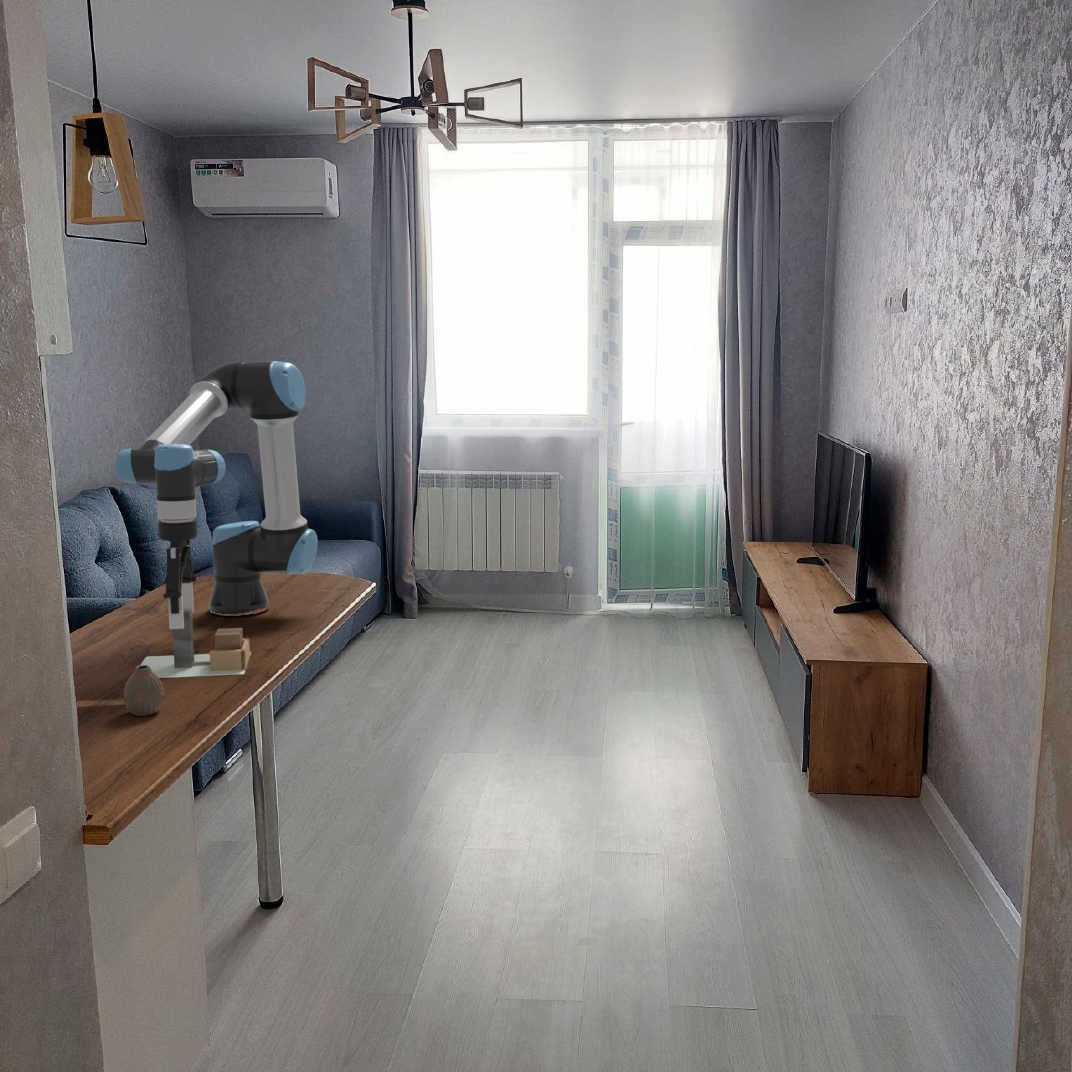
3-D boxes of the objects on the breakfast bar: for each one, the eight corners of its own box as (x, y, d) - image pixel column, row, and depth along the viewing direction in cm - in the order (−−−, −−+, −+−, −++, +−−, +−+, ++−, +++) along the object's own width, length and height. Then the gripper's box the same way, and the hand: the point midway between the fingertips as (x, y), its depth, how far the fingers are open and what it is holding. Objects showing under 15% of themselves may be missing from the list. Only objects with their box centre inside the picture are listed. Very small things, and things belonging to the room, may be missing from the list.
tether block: (177, 662, 213) (175, 607, 211) (243, 659, 215) (241, 605, 213) (173, 669, 208) (170, 613, 206) (241, 666, 210) (238, 610, 208)
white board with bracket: (146, 661, 217) (145, 638, 216) (251, 656, 221) (250, 634, 220) (131, 683, 201) (129, 659, 200) (244, 678, 205) (243, 655, 204)
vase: (131, 706, 188) (129, 661, 187) (169, 706, 189) (167, 661, 187) (119, 719, 181) (117, 672, 180) (158, 718, 182) (156, 672, 180)
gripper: (168, 511, 217) (173, 607, 220) (146, 529, 193) (151, 636, 196) (204, 511, 218) (208, 606, 222) (186, 528, 194) (191, 634, 197)
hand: (182, 620), depth 209 cm, fingers open, 13 cm apart
